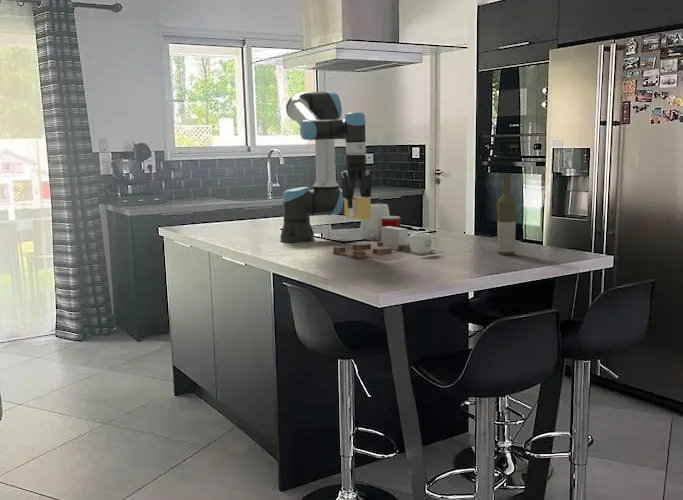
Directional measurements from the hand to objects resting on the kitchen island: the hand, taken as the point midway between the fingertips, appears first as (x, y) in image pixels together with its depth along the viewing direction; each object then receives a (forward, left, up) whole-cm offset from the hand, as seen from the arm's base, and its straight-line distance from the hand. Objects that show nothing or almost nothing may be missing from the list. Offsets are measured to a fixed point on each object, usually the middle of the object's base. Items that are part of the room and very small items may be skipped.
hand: (357, 216), depth 262 cm
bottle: (+36, +42, -15) cm, 58 cm away
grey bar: (0, +17, -14) cm, 22 cm away
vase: (-31, +30, -15) cm, 46 cm away
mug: (+15, +20, -15) cm, 29 cm away
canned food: (-17, +28, -15) cm, 36 cm away
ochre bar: (0, 0, -1) cm, 1 cm away
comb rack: (0, +6, -15) cm, 16 cm away
